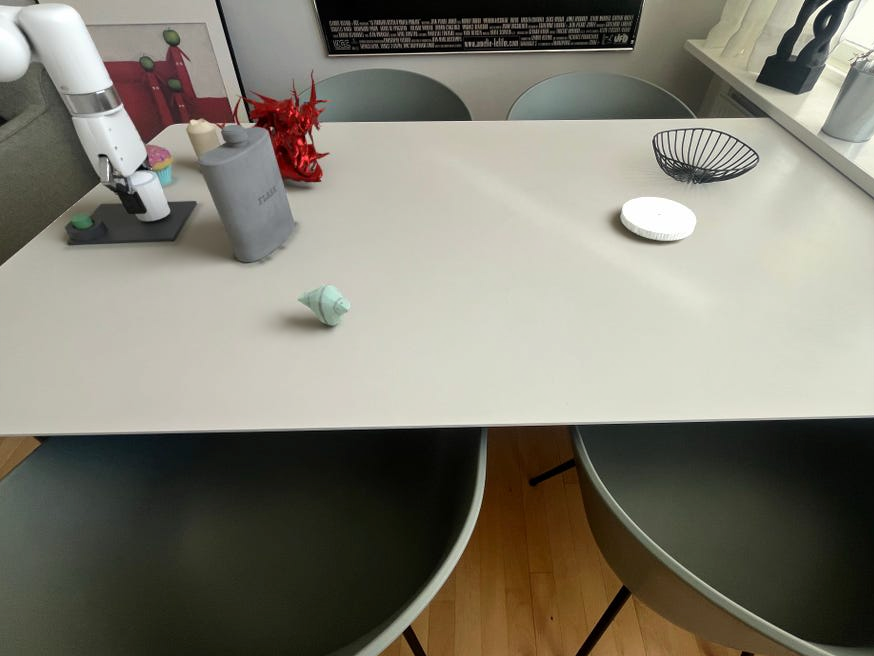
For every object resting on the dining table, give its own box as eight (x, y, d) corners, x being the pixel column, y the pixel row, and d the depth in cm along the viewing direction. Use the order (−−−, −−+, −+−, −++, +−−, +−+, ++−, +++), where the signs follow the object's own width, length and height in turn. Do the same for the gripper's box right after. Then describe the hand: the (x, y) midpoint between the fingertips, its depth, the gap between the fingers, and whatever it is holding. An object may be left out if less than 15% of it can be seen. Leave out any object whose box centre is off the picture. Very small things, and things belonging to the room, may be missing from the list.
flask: (260, 266, 83) (217, 149, 68) (230, 260, 84) (182, 144, 69) (303, 223, 93) (274, 113, 78) (276, 218, 94) (242, 109, 79)
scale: (66, 245, 86) (58, 233, 84) (101, 207, 96) (94, 195, 94) (174, 241, 87) (168, 229, 86) (197, 204, 97) (192, 192, 95)
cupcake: (170, 190, 101) (143, 131, 92) (129, 189, 101) (98, 130, 92) (187, 171, 107) (162, 114, 98) (148, 171, 107) (120, 114, 98)
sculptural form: (307, 152, 90) (363, 82, 99) (185, 96, 90) (253, 30, 99) (320, 220, 109) (367, 156, 118) (220, 174, 109) (274, 112, 118)
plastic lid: (664, 204, 101) (667, 192, 99) (707, 238, 92) (711, 226, 90) (606, 214, 98) (608, 202, 96) (644, 250, 89) (648, 238, 87)
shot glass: (179, 204, 94) (163, 170, 89) (164, 223, 89) (146, 187, 84) (144, 204, 94) (125, 169, 89) (126, 222, 89) (106, 186, 84)
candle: (196, 170, 107) (177, 124, 100) (211, 160, 111) (194, 114, 104) (218, 173, 106) (200, 126, 99) (233, 163, 110) (216, 117, 103)
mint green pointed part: (302, 327, 72) (290, 291, 67) (315, 310, 75) (305, 274, 70) (351, 337, 71) (343, 301, 66) (363, 319, 74) (355, 284, 69)
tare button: (72, 230, 86) (66, 221, 84) (80, 222, 88) (74, 213, 86) (89, 229, 86) (83, 220, 85) (96, 221, 88) (91, 212, 86)
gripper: (92, 82, 83) (142, 182, 95) (39, 120, 71) (104, 228, 84) (138, 82, 83) (181, 181, 96) (93, 119, 71) (150, 226, 84)
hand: (145, 202), depth 90 cm, fingers closed on shot glass, 6 cm apart
